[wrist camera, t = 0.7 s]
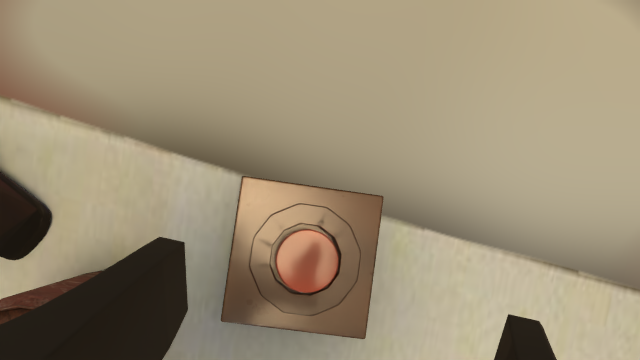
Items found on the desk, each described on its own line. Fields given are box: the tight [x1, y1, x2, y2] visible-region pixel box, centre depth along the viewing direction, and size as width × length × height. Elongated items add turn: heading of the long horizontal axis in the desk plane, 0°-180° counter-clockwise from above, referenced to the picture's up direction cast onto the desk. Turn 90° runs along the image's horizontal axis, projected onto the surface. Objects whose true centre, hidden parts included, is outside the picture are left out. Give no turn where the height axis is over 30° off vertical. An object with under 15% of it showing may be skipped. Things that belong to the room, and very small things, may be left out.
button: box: [275, 229, 339, 293], centre depth 36 cm, size 4×4×2 cm
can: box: [0, 271, 102, 324], centre depth 32 cm, size 6×6×14 cm
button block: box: [221, 176, 383, 339], centre depth 38 cm, size 9×9×4 cm
